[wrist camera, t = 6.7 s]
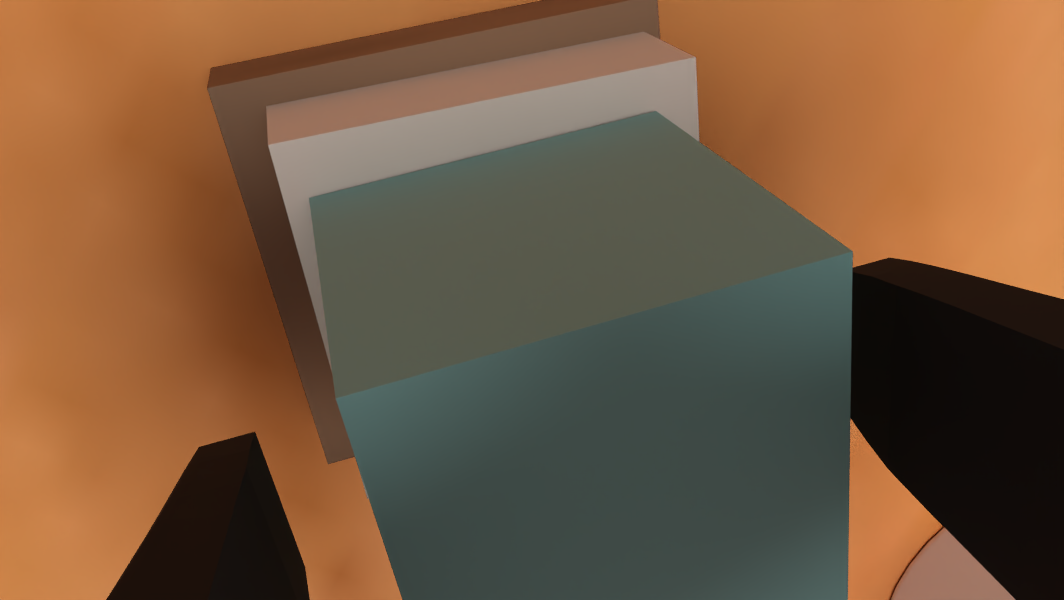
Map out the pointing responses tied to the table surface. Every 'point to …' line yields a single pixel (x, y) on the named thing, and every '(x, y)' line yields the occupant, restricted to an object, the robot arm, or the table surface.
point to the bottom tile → (248, 87)
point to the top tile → (466, 120)
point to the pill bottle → (947, 574)
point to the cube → (593, 373)
